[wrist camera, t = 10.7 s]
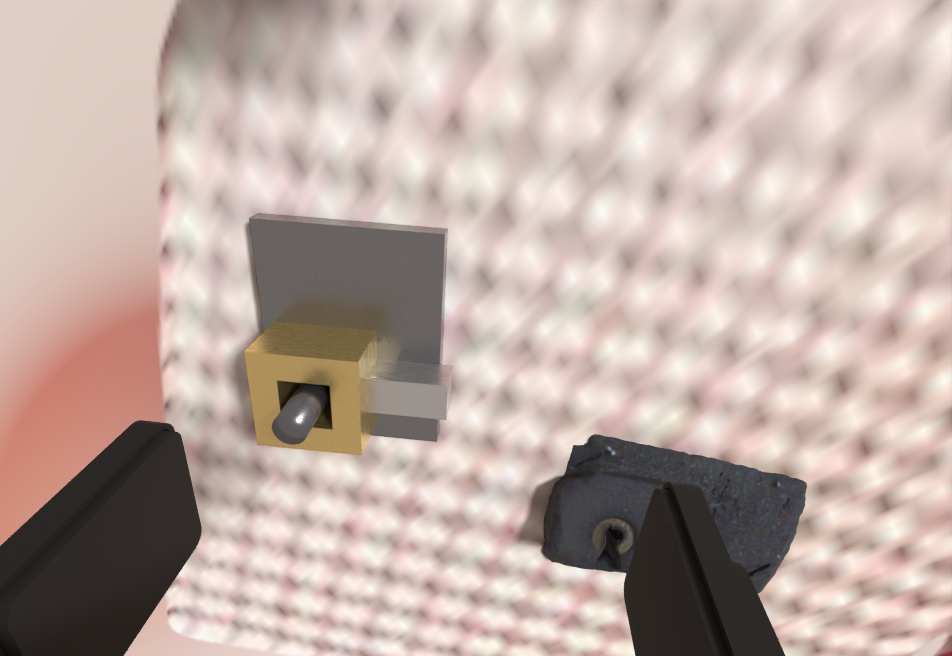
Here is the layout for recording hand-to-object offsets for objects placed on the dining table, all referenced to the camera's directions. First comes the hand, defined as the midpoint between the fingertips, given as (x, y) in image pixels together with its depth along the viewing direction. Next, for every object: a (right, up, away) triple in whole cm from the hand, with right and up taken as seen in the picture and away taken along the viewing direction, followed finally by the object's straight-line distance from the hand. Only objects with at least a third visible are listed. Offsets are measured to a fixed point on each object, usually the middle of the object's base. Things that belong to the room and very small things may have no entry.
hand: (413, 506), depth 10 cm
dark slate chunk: (+19, -14, +38) cm, 45 cm away
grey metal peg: (-11, 0, +31) cm, 33 cm away
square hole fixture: (-8, +3, +31) cm, 33 cm away
